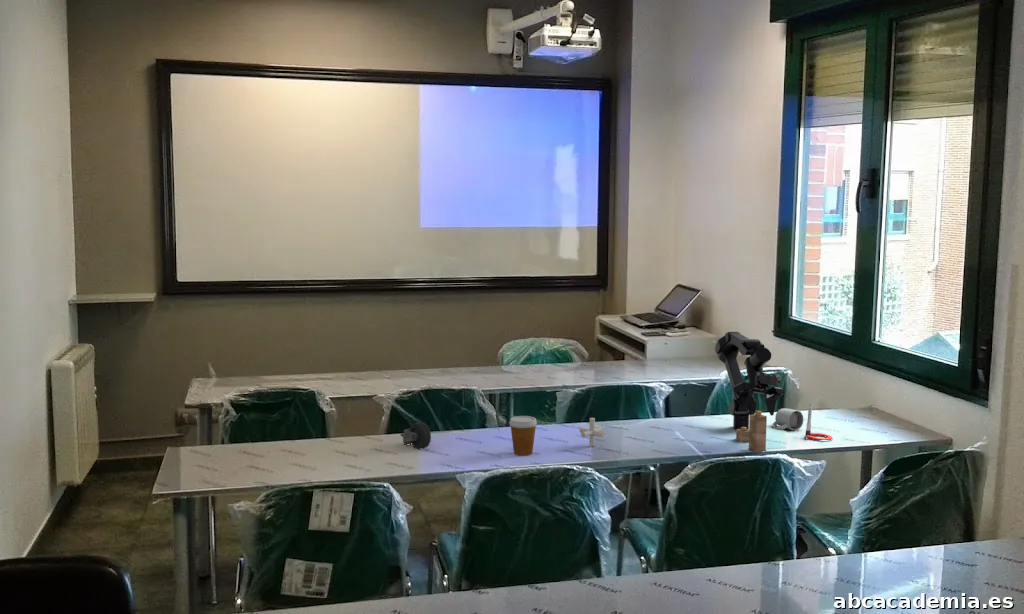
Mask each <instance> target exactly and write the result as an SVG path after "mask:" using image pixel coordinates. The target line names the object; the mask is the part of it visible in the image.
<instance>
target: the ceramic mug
mask: <svg viewBox="0 0 1024 614" xmlns="http://www.w3.org/2000/svg"><path fill="white" fill-rule="evenodd" d="M774 418H775V421H774V422H773V423H772V424H771V425H772V428H773V429H775V430H785V429H787V430H790V431H793V430H796V431H799V430H800V429H801V428H802V426H803V424H804V415H803V413H802V412H801V411H800V410H799V409H792V408H780V409H778V410H777V412H776V414H775V417H774ZM777 425H778V426H777Z"/></svg>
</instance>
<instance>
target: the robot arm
mask: <svg viewBox="0 0 1024 614" xmlns="http://www.w3.org/2000/svg"><path fill="white" fill-rule="evenodd" d="M714 350H715V354H716V355H717V357H718V359H719V360H720V361H721V362H722V363H723V364H724V366H725V369H726V372H727V376H728V379H729V383H730V386H731V388H732V392H733V395H732V397H731V401H730V402H729V405H728V408H727V410H728V414H729V415H731V416H732V417H733V419H732V420H733V424H732V425H733V426H732V427H733V430H735V431H736V429H741V427H746V428H747V429H748V430H749V420H750V415H753V414H755V411H757V401H756V399H755V396H754V394H759V395H763V397H764V402H765V406H766V407H767V411H768V412H769V415H770V416H774V414H775V407H776V403H777V401H778V399H779V398H781V397H782V396H784V395H785V394H784V390H783V388H781V387H777V386H778V385H779V384H781V381H782V379H781V375H780V374H776V373H775V374H773V373H772V375H768V373H766V372H764V366H766V364H767V363H769V361H771V359H772V352H771V350H769V349H768V348H767V347H766V346H765V344H763V343H762V342H761V340H760V339H758V338H757V339H755V338H752V339H751V338H748V337H746V336H744V335H742V334H741V332H738V331H727V332H726V333H725V334H724V336H722V337H720V338H719V339H717V342H716V343H715V347H714ZM739 353H740V354H741V355H742V356H748V357H746V358H745V360H744V362H743V365H745V371H746V375H745V378H744V377H743V376H742V372H741V369H740V365H739V361H738V359H737V358H738V356H739V355H738V354H739ZM743 378H744V379H745V380H747V382H746V381H744V379H743ZM771 386H772V387H771Z"/></svg>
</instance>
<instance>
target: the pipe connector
mask: <svg viewBox="0 0 1024 614" xmlns="http://www.w3.org/2000/svg"><path fill="white" fill-rule="evenodd" d="M595 426H596V418H595V417H590V418H589V428H585V427H579V433H581V434H580V436H581V437H582V438H587V437H589V439H588V440H589V445H590V446H596V445H595V444H596V442H595V440H596V439H595V438H596V437H600V438H605V436H606V433H605V432H604V431H603V430H604V429H603V427H601V426H599V427H595ZM590 446H589V447H590Z"/></svg>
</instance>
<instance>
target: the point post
mask: <svg viewBox="0 0 1024 614" xmlns="http://www.w3.org/2000/svg"><path fill="white" fill-rule="evenodd" d="M767 417H768V416H767V415H764V414H762V411H761V410H755V414H753V415H749V442H748V449H750V450H752V451H755V452H754V453H759V452H760V451H766V452H767V446H766V445H767V425H768V423H767V422H768V421H767V420H768V418H767ZM752 451H751V452H752Z"/></svg>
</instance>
